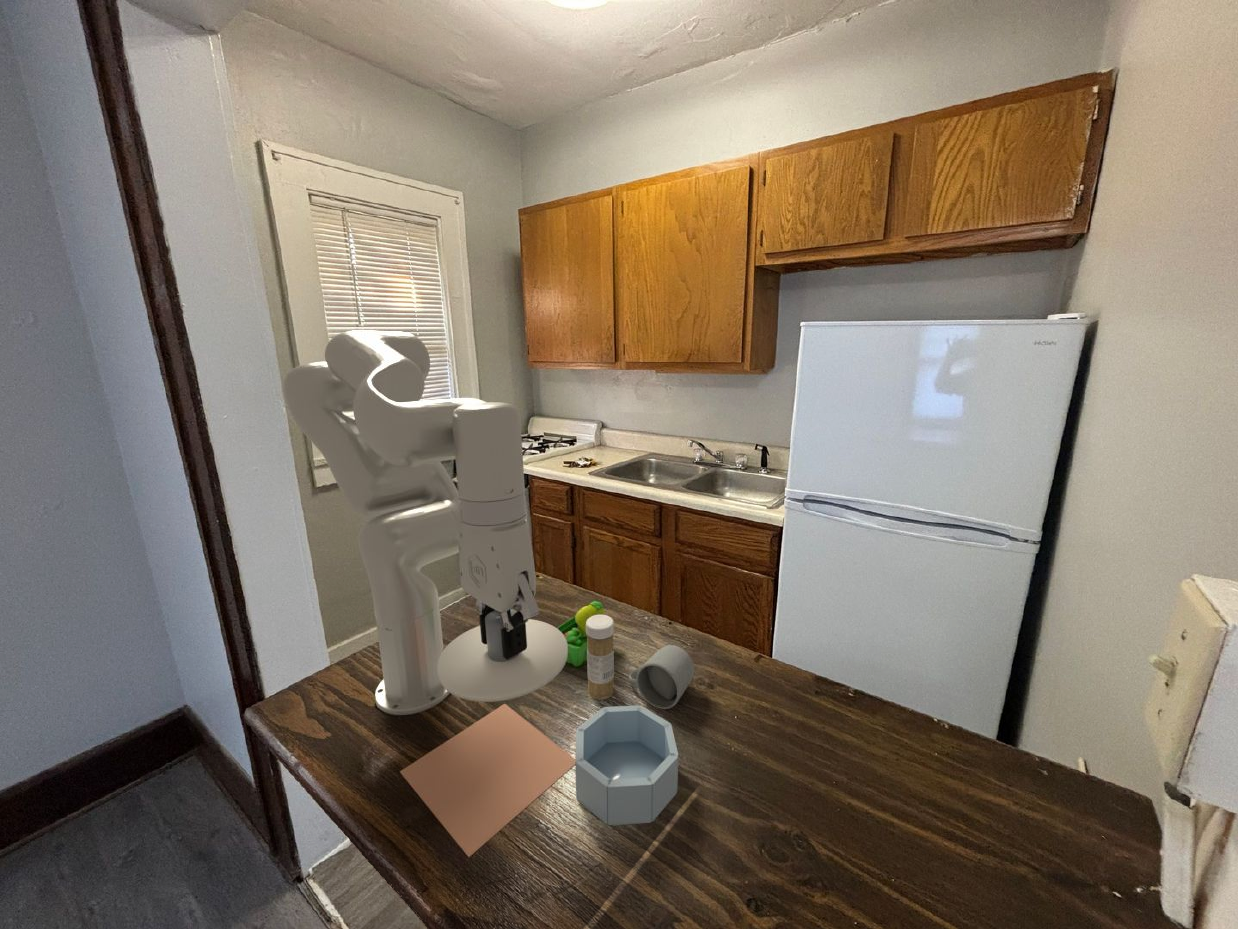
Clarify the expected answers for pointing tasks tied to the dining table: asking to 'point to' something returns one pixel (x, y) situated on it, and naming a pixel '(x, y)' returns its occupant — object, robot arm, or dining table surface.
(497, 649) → the lid
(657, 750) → the bowl
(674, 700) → the ceramic mug
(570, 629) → the fruit basket
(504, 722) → the mat
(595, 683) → the spice bottle
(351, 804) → the dining table surface
